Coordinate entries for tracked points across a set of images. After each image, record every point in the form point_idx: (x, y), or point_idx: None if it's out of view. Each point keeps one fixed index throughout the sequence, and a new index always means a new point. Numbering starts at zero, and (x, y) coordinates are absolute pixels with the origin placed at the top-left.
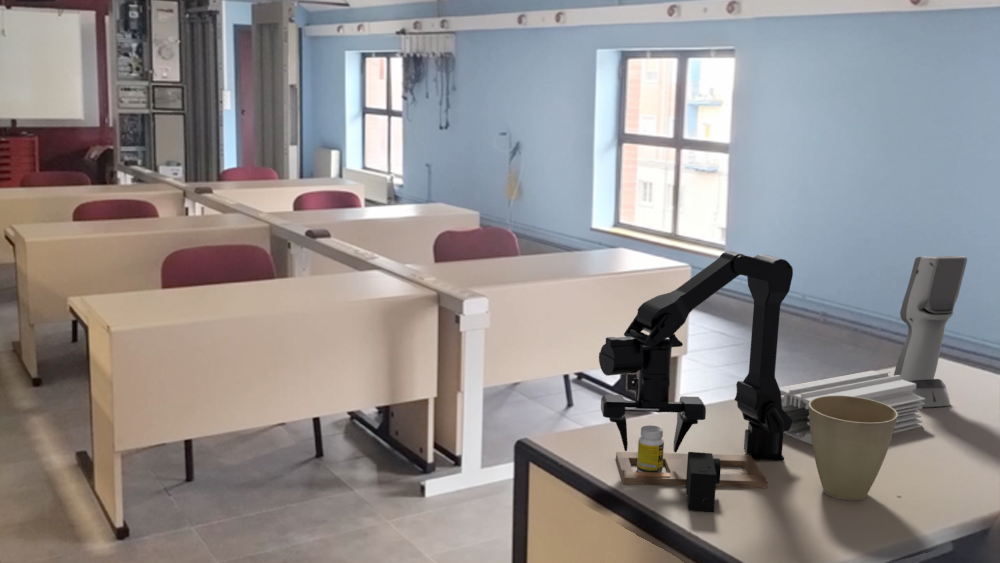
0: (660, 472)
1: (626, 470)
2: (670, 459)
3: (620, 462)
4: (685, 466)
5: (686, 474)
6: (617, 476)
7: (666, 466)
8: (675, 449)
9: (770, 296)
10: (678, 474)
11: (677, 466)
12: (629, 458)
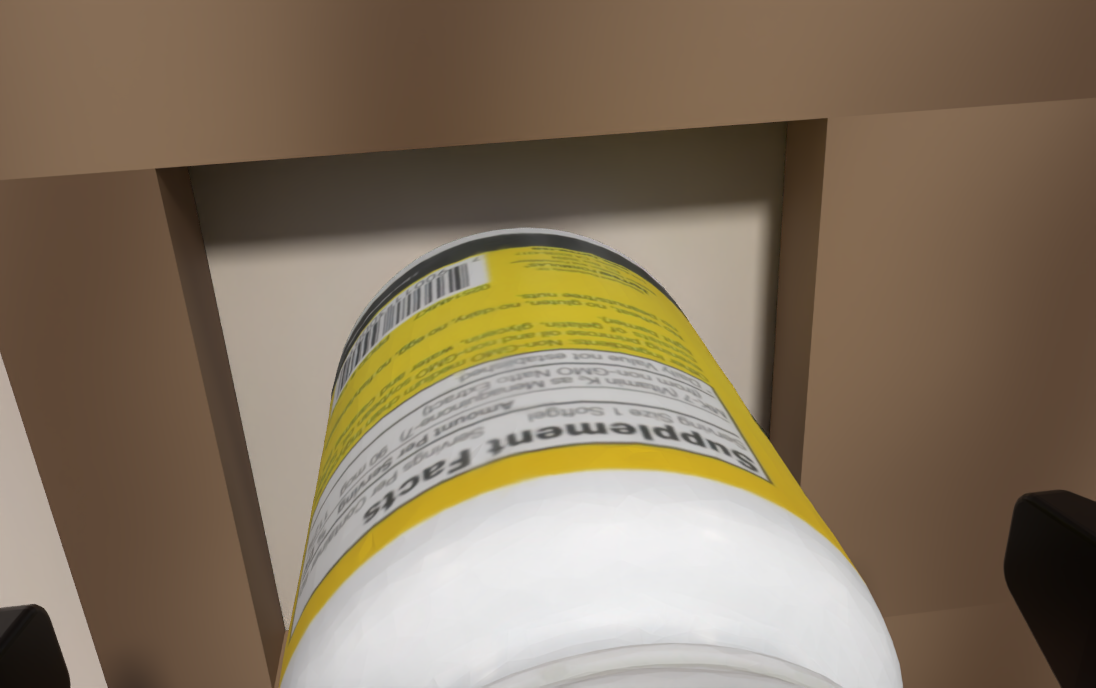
0: None
1: (177, 674)
2: (911, 142)
3: (39, 405)
4: (1053, 393)
5: (972, 642)
6: (79, 617)
7: (791, 262)
8: (1049, 638)
9: None
10: None
11: (937, 412)
12: (179, 161)
